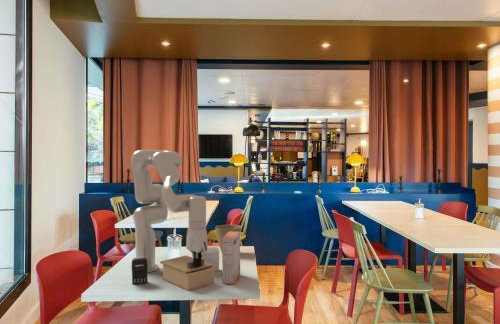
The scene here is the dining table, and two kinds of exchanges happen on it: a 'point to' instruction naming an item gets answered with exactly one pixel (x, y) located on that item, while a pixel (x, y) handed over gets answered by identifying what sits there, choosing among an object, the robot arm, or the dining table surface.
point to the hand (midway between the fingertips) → (197, 266)
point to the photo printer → (212, 257)
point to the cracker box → (231, 257)
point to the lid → (184, 264)
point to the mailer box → (189, 277)
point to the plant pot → (225, 232)
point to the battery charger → (139, 270)
